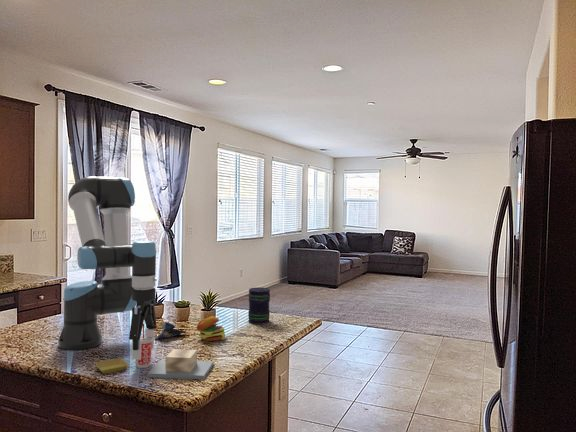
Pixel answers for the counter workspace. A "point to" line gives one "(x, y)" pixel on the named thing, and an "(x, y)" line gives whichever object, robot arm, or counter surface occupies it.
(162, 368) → the board
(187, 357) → the block
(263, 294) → the storage jar
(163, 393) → the counter surface
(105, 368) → the yellow square slab
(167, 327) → the dark grey crumpled piece
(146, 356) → the beverage cup
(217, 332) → the cheeseburger
